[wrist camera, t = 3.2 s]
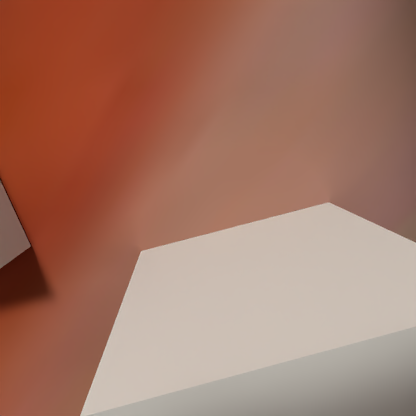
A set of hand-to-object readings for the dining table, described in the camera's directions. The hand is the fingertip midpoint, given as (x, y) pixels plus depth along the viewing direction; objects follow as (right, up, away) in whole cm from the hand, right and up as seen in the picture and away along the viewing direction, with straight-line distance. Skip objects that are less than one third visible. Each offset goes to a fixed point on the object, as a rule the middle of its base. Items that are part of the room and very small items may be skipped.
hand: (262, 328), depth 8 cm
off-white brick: (0, 0, +1) cm, 1 cm away
